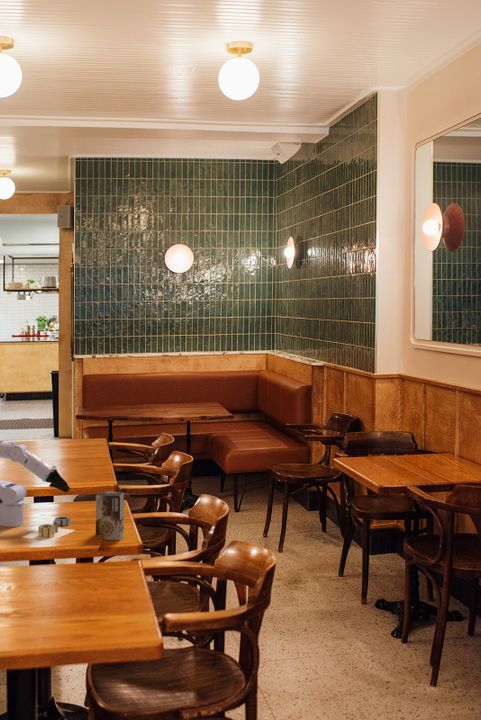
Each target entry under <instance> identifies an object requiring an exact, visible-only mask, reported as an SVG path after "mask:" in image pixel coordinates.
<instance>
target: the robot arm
mask: <svg viewBox="0 0 481 720" xmlns="http://www.w3.org/2000/svg"><path fill="white" fill-rule="evenodd" d="M1 458H2V459H7V460H10V461H12V462H14V463H19V464H20V465H22V466H23V467H24V468H25V469H26V470H28V471H30V472H31V473H32V474H33V475H35V476H36V477H37V478H39V479H40V480H41V481H42V482H44V483H45V482H46V483H49V485H48V486H49V488H53V489H57V490H59V491H61V492H63V493H66V494H67V493H68V492H69V491H70V489H71V488H70V486H69V484H68V482H67V481H66V480H65V478H63V476H61V475H60V473H59V471H58V469H57V466H56V465H55V464H53V466H51V465H49V464H48V463H47V462H46V461H44V460H43V459H41V458H40V457H39V456H38V455H36V454H35V453H33V452H32V451H31V450H30V449H29V447H28V446H27V444H23V443H18V444H16V443H15V442H5V441H3V440H2V439H0V459H1ZM27 494H28V492H27V488H26V486H25V485H23V484H21V483H15V482H12V481H8V480H7V481H6V480H3V479H2V478H0V500H1V501H2V502H1V503H0V526H3V527H7V528H8V527H9V528H15V527H18V528H19V527H21V526H24V523H25V522H24V521H25V518H24V517H25V515H24V514H25V513H24V511H25V510H24V509H25V507H24V506H25V504H24V503H25V501H24V499H25V498H26V496H27Z"/></svg>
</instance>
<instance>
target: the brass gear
mask: <svg viewBox="0 0 481 720" xmlns="http://www.w3.org/2000/svg"><path fill="white" fill-rule="evenodd" d="M48 524H49V523H48ZM38 530H39V533H38V536H39V537H41V538H42V537H43V538H48V537H49V538H50V537H53V536H55V525H54V524H49V527H45V524H40V525H39V526H38Z"/></svg>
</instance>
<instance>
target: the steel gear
mask: <svg viewBox="0 0 481 720" xmlns="http://www.w3.org/2000/svg"><path fill="white" fill-rule="evenodd" d="M54 521H58V527H67V526H70V525H71V517H69V516H57V517H55V518H54Z"/></svg>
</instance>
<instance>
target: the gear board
mask: <svg viewBox="0 0 481 720" xmlns="http://www.w3.org/2000/svg"><path fill="white" fill-rule="evenodd" d="M44 525H45V527H49V523H44ZM53 525H55V536H53V537H50V538H49V537H48V538H43V537H42V538H41V537H39V536H38V533H39V529H37V530H35V531H33V532H31V533H28V534H26V535H22V538H26V539H32V540H33V539H34V540H39V541H40V540H42V541H51V542H52V541H54V540H56V539H58V538H61V537H63V536H66V535H68V534H71V533H73V532H75V531H76V530H75V529H69V528H68V529H67V528H59V526H58V521H55V520H53Z"/></svg>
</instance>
